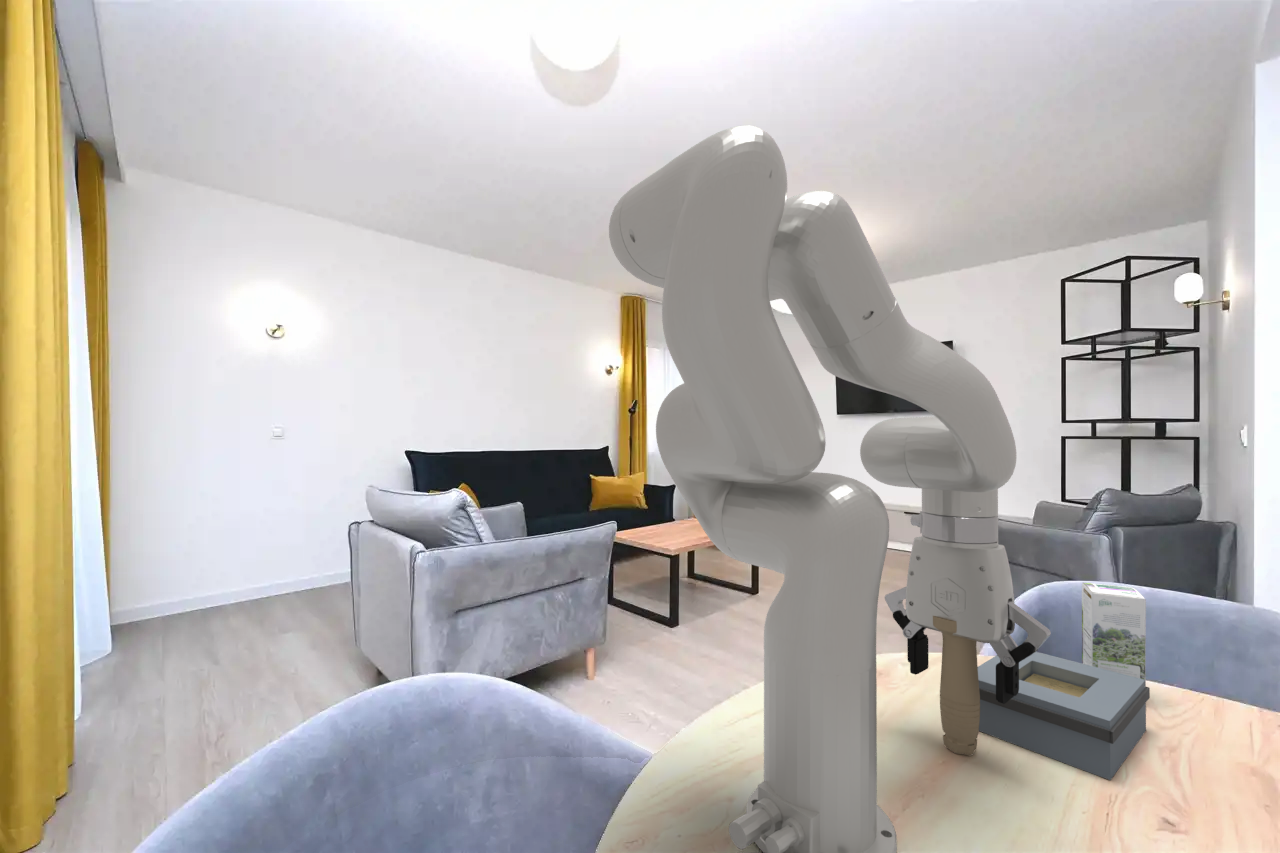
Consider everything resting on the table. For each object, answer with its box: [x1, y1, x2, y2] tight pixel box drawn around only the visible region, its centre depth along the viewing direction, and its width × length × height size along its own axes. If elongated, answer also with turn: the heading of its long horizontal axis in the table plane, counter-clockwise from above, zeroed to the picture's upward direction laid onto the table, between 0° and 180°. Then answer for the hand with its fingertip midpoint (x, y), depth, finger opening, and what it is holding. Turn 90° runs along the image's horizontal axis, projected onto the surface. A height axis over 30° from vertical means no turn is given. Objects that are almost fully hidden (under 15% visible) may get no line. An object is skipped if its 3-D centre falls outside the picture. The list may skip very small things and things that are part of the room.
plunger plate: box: [1024, 674, 1088, 698], centre depth 68 cm, size 7×6×1 cm
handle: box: [933, 616, 980, 757], centre depth 64 cm, size 5×6×15 cm
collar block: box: [977, 651, 1151, 781], centre depth 68 cm, size 17×15×6 cm
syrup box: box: [1081, 582, 1147, 680], centre depth 77 cm, size 6×6×14 cm
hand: (960, 684), depth 64 cm, fingers open, 8 cm apart
